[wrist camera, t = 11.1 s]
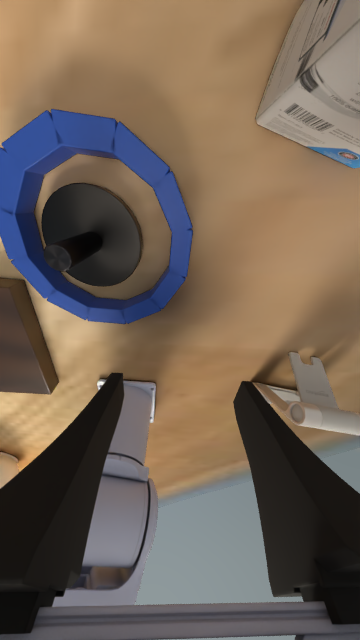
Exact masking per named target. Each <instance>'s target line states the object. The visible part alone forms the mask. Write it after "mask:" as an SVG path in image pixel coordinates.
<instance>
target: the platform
mask: <svg viewBox="0 0 360 640" xmlns="http://www.w3.org/2000/svg"><path fill="white" fill-rule="evenodd" d="M58 383H59V382H58V379H57V376H56V373H55V370H54V367H53V364H52V361H51V358H50V356H49V353H48V350H47V347H46V344H45V341H44V338H43V335H42V332H41V329H40V326H39V323H38V320H37V318H36V315H35V312H34V309H33V306H32V303H31V300H30V297H29V294H28V291H27V288H26V285H25V282H24V280H16V279H5V278H0V392H15V393H33V394H51V393H52V392H53V390H54V389H55V387H56V386H57V384H58Z"/></svg>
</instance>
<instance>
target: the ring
mask: <svg viewBox="0 0 360 640" xmlns="http://www.w3.org/2000/svg"><path fill="white" fill-rule="evenodd" d="M2 146H3V147H4V148H1V147H0V236H1V239H2V242H3V245H4V247H5V250H6V253H7V256H8V258H9V259H14V260H12V261H11V263H12V264H13V265H14V266H15V267H16V268H17V269H18V270H19V271H20V273H21V274H22V275H23V276H24V277H25V278H26V279H27V280H28V281H29V282H30V284H31V285H32V286H33V287H34V288H35V289H36V290H37V291H38V292H39V293H40V294H41V296H42V297H43V298H47V297H48V299H47V301H49V302H51V303H53V304H55V305H57V306H59V307H61V308H63V309H64V310H66V311H68V312H70V313H72V314H74V315H76V316H78V317H80V318H82V319H84V320H86V319H88V321H95V322H107V323H119V324H126V322H127V323H128V324H129V323H131V322H134V321H136V320H139V319H141V318H144V317H146V316H149V315H151V314H154V313H156V312H159V311H161V309H163V308H164V307H165V305H166V304H167V303H168V302H169V300H170V299H171V298H172V296H173V295H174V294H175V293H176V291H177V290H178V289H179V287H180V286H181V285H182V284H183V282H184V281H185V280H186V278H185V277H187V273H188V265H189V258H190V250H191V243H192V235H193V230H192V224H191V221H190V218H189V215H188V213H187V210H186V207H185V204H184V202H183V199H182V196H181V193H180V191H179V188H178V185H177V182H176V180H175V177H174V174H173V172H172V171H171V172H170V167H169V166H168V165H167V164H166V163H165V162H163V161H162V160H161V159H160V158H159V157H158V156H157V155H156V154H155V153H154V152H153V151H152V150H150V149H149V148H148V147H147V146H146V145H145V144H144V143H143V142H142V141H141V140H140V139H138V138H137V137H136V136H135V135H134V134H133V133H132V132H131V131H130V130H129V129H128V128H127V127H125V126H124V125H123V124H122V123H121V122H118V123H117V121H116V120H115V119H113V118H107V117H100V116H94V115H87V114H81V113H75V112H68V111H62V110H55V109H51V113H50V112H49V111H48V110H46V111H45V112H43V113H42V114H41V115H39V116H38V117H36V118H35V119H34V120H32V121H31V122H30V123H28V124H27V125H26V126H24V127H23V128H22V129H20V130H19V131H18V132H16V133H15V134H14V135H12V136H11V137H10V138H8V139H7V140H6V141H4V142H3V143H2ZM77 153H79V154H86V155H93V156H100V157H107V158H114V159H119V160H121V161H122V162H123V163H124V164H125V165H127V166H128V167H129V168H130V169H131V170H132V171H134V172H135V173H136V174H137V175H138V176H140V177H141V178H142V179H143V180H144V181H145V182H147V183H148V184H149V185H150V186H151V187H153V189H154V191H155V194H156V196H157V198H158V201H159V203H160V205H161V208H162V210H163V212H164V215H165V217H166V220H167V222H168V224H169V227H170V229H171V231H172V238H171V250H170V263H169V266H168V268H167V269H166V271H165V272H164V273H163V275H162V276H161V278H160V279H159V281H158V282H157V283H156V285H155V286H154V288H153V289H151V290H149V291H147V292H144V293H142V294H140V295H137V296H135V297H133V298H130V299H128V300H119V299H108V298H97V297H95V296H93V295H91V294H90V293H88V292H86V291H84V290H83V289H81V288H79V287H77V286H75V285H74V284H72V283H70V282H68V281H67V280H66V279H65V277H64V276H63V275H62V274H61V272H60V271H57V270H55V269H53V268H52V267H50V266H49V265H48V264H47V262H46V261H45V258H44V250H43V246H42V242H41V238H40V235H39V231H38V227H37V223H36V219H35V215H34V209H35V205H36V202H37V198H38V195H39V191H40V188H41V184H42V181H43V177H44V175H45V174H46V173H48V172H49V171H51V170H52V169H54V168H55V167H57V166H58V165H60V164H61V163H63V162H64V161H66V160H67V159H69V158H71V157H72V156H74V155H75V154H77Z"/></svg>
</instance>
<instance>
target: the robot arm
mask: <svg viewBox="0 0 360 640" xmlns="http://www.w3.org/2000/svg"><path fill="white" fill-rule="evenodd" d="M97 386H98V392H97V393H96V395H95V396H94V397H93V398H92V400H91V401H90V402H89V403H88V405H87V406H86V407H85V408H84V409H83V411H82V412H81V413H80V414H79V415H78V416H77V417H76V419H75V420H74V421H73V422H72V423H71V424H70V425H69V426H68V427H67V428H66V429H65V430H64V431H63V432H62V433H61V434H60V435H59V437H58V438H57V439H56V440H55V441H53V442H52V443H51V444H50V445H49V446H48V447H47V448H46V449H45V450H44V451H43V452H42V453H41V454H40V455H39V456H38V457H37V458H35V459H34V460H33V461H32V462H31V463H30V464H29V465H28V466H26V467H25V468H24V469H23V470H22V471H21V472H19V473H18V474H17V475H16V476H15V477H13V478H12V479H11V480H10V481H9V482H8V483H6V484H5V485H4V486H3V487H2V488H0V640H156V639H157V640H158V639H187V638H188V639H189V638H219V637H248V636H249V637H250V636H279V635H280V636H281V635H296V637H295V640H360V494H359V493H358V492H357V491H355V490H354V489H353V488H352V487H351V486H350V485H348V484H347V483H346V482H345V481H344V480H343V479H341V478H340V477H339V476H338V475H337V474H336V473H334V472H333V471H332V470H331V469H330V468H329V467H328V466H327V465H326V464H325V463H324V462H322V461H321V460H320V459H319V458H318V457H317V456H316V455H315V454H314V453H313V452H312V451H311V450H310V449H309V448H308V447H307V446H306V445H305V444H304V443H303V442H302V441H301V440H300V439H299V438H298V437H297V436H296V435H295V434H294V432H293V431H292V430H291V429H290V428H289V427H288V426H287V425H286V424H285V422H284V421H283V420H282V419H281V418H280V416H279V415H278V414H277V413H276V412H275V410H274V409H273V408H272V407H271V406H270V404H269V403H268V402H267V401H266V399H265V398H264V397H263V395H262V394H261V393H260V392H259V390H258V389H257V388H256V387H255V385H254V384H253V383H252V382H249V381H242V382H241V385H240V387H239V389H238V392H237V394H236V397H235V399H234V401H233V403H234V409H235V414H236V420H237V423H238V427H239V430H240V434H241V437H242V440H243V444H244V447H245V450H246V454H247V457H248V461H249V464H250V468H251V473H252V478H253V482H254V487H255V493H256V497H257V503H258V508H259V514H260V520H261V526H262V532H263V539H264V546H265V553H266V560H267V567H268V575H269V582H270V586H271V590H272V594H273V596H274V597H293V596H302V597H303V601H304V602H275V603H274V602H269V603H219V604H170V605H169V604H168V605H134V604H135V602H136V598H137V593H138V590H139V588H140V584H141V579H142V575H143V571H144V567H145V563H146V560H147V557H148V555H149V553H150V550H151V547H152V544H153V540H154V536H155V530H156V524H157V515H158V496H157V491H156V488H155V485H154V482H153V480H152V479H150V478H148V473H149V468H148V467H145V466H144V463H145V455H146V447H147V439H148V431H149V423H152V422H153V421H154V408H155V392H156V384H155V383H153V382H138V381H123V373H111V374H110V375H109V377H108V378H107V380H106V379H99V380H98V382H97Z"/></svg>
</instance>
